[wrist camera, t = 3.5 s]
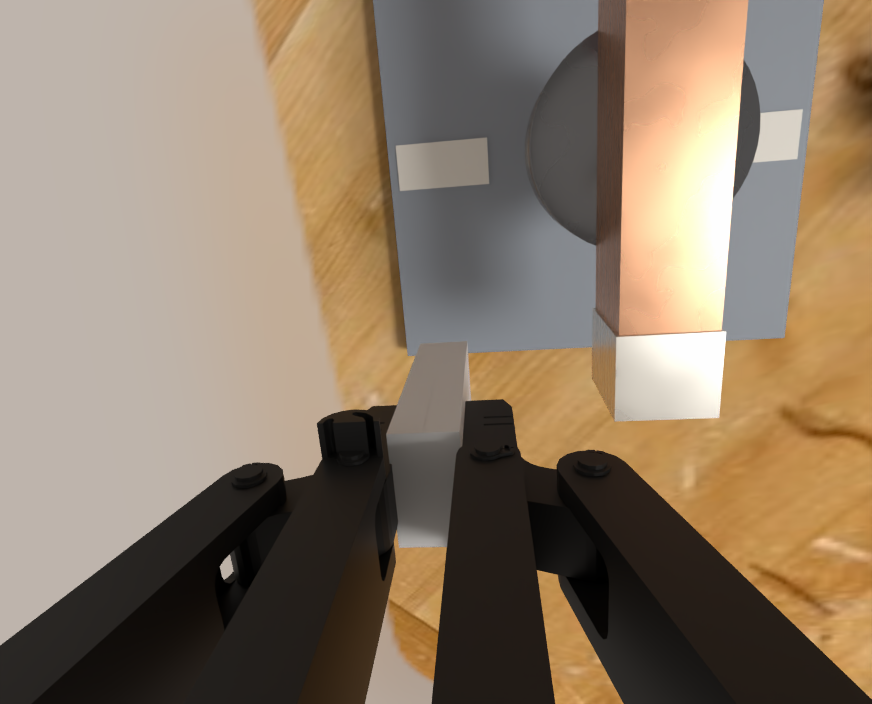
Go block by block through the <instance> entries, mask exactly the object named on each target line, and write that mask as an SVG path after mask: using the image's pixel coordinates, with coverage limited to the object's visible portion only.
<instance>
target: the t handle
mask: <svg viewBox="0 0 872 704" xmlns="http://www.w3.org/2000/svg"><path fill="white" fill-rule="evenodd" d="M747 11H748V0H598V31H596V32H595V33H593V34H592V35H590V36H589V37H587V38H586V39H584V40H583V41H582V42H581V43H580V44H578V45H577V46H576V47H575V48H574V49H573V50H572V51H571V52H570V53H569V54H568V55H567V56H566V57H565V58H564V59H563V60H562V62H561V63H560V64H559V66H558V67H557V68H556V70H555V71H554V72H553V74H552V75H551V77H550V78H549V80H548V81H547V83H546V85H545V86H544V88H543V89H542V91H541V93H540V95H539V96H538V98H537V100H536V102H535V105H534V107H533V110H532V112H531V115H530V118H529V122H528V125H527V131H526V137H525V163H526V169H527V174H528V178H529V181H530V184H531V187H532V189H533V192H534V194H535V196H536V197H537V199H538V201H539V203H540V204H541V206H542V207H543V208H544V210H545V211H546V212H547V213H548V214H549V215H550V217H551V218H552V219H553V220H554V221H556V222H557V223H558V224H559V225H561V226H562V227H563V228H565V229H566V230H568V231H569V232H571V233H572V234H574V235H575V236H577V237H579V238H580V239H582V240H584V241H586V242H588V243H590V244H593V245H595V246H596V308H592V379H593V381H594V383H595V385H596V387H597V389H598V391H599V393H600V395H601V396H602V398H603V400H604V402H605V404H606V406H607V408H608V410H609V412H610V414H611V415H612V417H613V419H614V421H641V420H670V419H700V418H719V412H720V400H721V388H722V376H723V364H724V352H725V340H726V331H725V330H723V329H722V320H723V308H724V295H725V283H726V271H727V258H728V246H729V234H730V221H731V209H732V199H733V198H734V197H735V195H736V194H737V193H738V191H739V190H740V188H741V186H742V184H743V182H744V181H745V179H746V177H747V175H748V173H749V170H750V168H751V166H752V163H753V160H754V157H755V153H756V150H757V146H758V140H759V134H760V116H761V113H760V104H759V97H758V93H757V88H756V84H755V81H754V79H753V76H752V74H751V72H750V69H749V67H748V66H747V64H746V62H745V60H744V48H745V36H746V23H747Z"/></svg>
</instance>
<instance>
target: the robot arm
mask: <svg viewBox="0 0 872 704" xmlns="http://www.w3.org/2000/svg"><path fill="white" fill-rule="evenodd" d="M317 427H318V434H319V440H320V447H321V453H322V460H321V462H320V464H319V466H318V468H317V469H316V471H315V473H314V475H310V476H306V477H303V478H297V479H292V480H288V481H285V480H284V475H283V470H282V469H281V468H280V467H279V466H278V465H275V464H270V463H252V464H246V465H243V466H242V467H240V468H237V469H234V470H232V471H231V472H229V473H227V474H225V475H224V476H222V477H221V478H219V479H218V480H217V481H216V482H214V483H213V484H212V485H210V486H209V487H208V488H206V489H205V490H204V491H202V492H201V493H200V494H199V495H197V496H196V497H195V498H193V499H192V500H191V501H189V502H188V503H187V504H186V505H184V506H183V507H182V508H180V509H179V510H178V511H176V512H175V513H174V514H172V515H171V516H170V517H168V518H167V519H166V520H164V521H163V522H162V523H160V524H159V525H158V526H157V527H155V528H154V529H153V530H151V531H150V532H149V533H147V534H146V535H145V536H143V537H142V538H141V539H139V540H138V541H137V542H136V543H134V544H133V545H132V546H130V547H129V548H128V549H127V550H125V551H124V552H122V553H121V554H120V555H119V556H117V557H116V558H115V559H113V560H112V561H111V562H109V563H108V564H107V565H105V566H104V567H103V568H101V569H100V570H99V571H97V572H96V573H95V574H94V575H92V576H91V577H90V578H88V579H87V580H86V581H84V582H83V583H82V584H80V585H79V586H78V587H77V588H75V589H74V590H73V591H71V592H70V593H69V594H67V595H66V596H65V597H63V598H62V599H61V600H60V601H58V602H57V603H55V604H54V605H53V606H52V607H50V608H49V609H48V610H46V611H45V612H44V613H42V614H41V615H40V616H39V617H37V618H36V619H34V620H33V621H32V622H31V623H29V624H28V625H27V626H25V627H24V628H23V629H21V630H20V631H19V632H17V633H16V634H15V635H14V636H12V637H11V638H10V639H8V640H7V641H6V642H4V643H3V644H2V645H0V704H365V700H366V695H367V691H368V686H369V681H370V677H371V673H372V668H373V664H374V659H375V655H376V650H377V646H378V641H379V636H380V632H381V627H382V623H383V618H384V614H385V609H386V605H387V600H388V596H389V591H390V587H391V582H392V577H393V573H394V568H395V564H396V559H395V549H394V538H395V534H396V530H397V533H398V542H399V548H404V547H447V552H446V563H445V573H444V583H443V593H442V603H441V614H440V624H439V634H438V644H437V654H436V665H435V675H434V685H433V695H432V704H555V699H554V692H553V685H552V678H551V670H550V663H549V656H548V649H547V641H546V634H545V627H544V620H543V613H542V605H541V598H540V591H539V584H538V576H537V570H539V571H544V572H548V573H553V574H557V575H558V579H559V583H560V587H561V589H562V591H563V593H564V595H565V597H566V598H567V600H568V602H569V604H570V606H571V608H572V609H573V611H574V613H575V615H576V617H577V619H578V621H579V622H580V624H581V626H582V628H583V630H584V632H585V633H586V635H587V637H588V639H589V641H590V643H591V644H592V646H593V648H594V650H595V652H596V654H597V655H598V657H599V659H600V661H601V663H602V665H603V666H604V668H605V670H606V672H607V674H608V676H609V677H610V679H611V681H612V683H613V685H614V687H615V688H616V690H617V692H618V694H619V696H620V698H621V699H622V701H623V703H624V704H872V699H871V698H870V697H869V696H868V695H866V694H865V693H864V692H863V691H862V690H861V689H860V688H859V687H858V686H857V685H856V684H855V683H854V682H853V681H852V680H851V679H850V678H849V677H848V676H847V675H846V674H845V673H844V672H843V671H842V670H841V669H839V668H838V667H837V666H836V665H835V664H834V663H833V662H832V661H831V660H830V659H829V658H828V657H827V656H826V655H825V654H824V653H823V652H822V651H821V650H820V649H819V648H818V647H817V646H816V645H815V644H814V643H812V642H811V641H810V640H809V639H808V638H807V637H806V636H805V635H804V634H803V633H802V632H801V631H800V630H799V629H798V628H797V627H796V626H795V625H794V624H793V623H792V622H791V621H790V620H789V619H788V618H787V617H786V616H784V615H783V614H782V613H781V612H780V611H779V610H778V609H777V608H776V607H775V606H774V605H773V604H772V603H771V602H770V601H769V600H768V599H767V598H766V597H765V596H764V595H763V594H762V593H761V592H760V591H759V590H757V589H756V588H755V587H754V586H753V585H752V584H751V583H750V582H749V581H748V580H747V579H746V578H745V577H744V576H743V575H742V574H741V573H740V572H739V571H738V570H737V569H736V568H735V567H734V566H733V565H732V564H730V563H729V562H728V561H727V560H726V559H725V558H724V557H723V556H722V555H721V554H720V553H719V552H718V551H717V550H716V549H715V548H714V547H713V546H712V545H711V544H710V543H709V542H708V541H707V540H706V539H705V538H703V537H702V536H701V535H700V534H699V533H698V532H697V531H696V530H695V529H694V528H693V527H692V526H691V525H690V524H689V523H688V522H687V521H686V520H685V519H684V518H683V517H682V516H681V515H680V514H679V513H678V512H676V511H675V510H674V509H673V508H672V507H671V506H670V505H669V504H668V503H667V502H666V501H665V500H664V499H663V498H662V497H661V496H660V495H659V494H658V493H657V492H656V491H655V490H654V489H653V488H652V487H651V486H649V485H648V484H647V483H646V482H645V481H644V480H643V479H642V478H641V477H640V476H639V475H638V474H637V473H636V472H635V471H634V470H633V469H632V468H631V467H630V466H629V465H628V464H627V463H626V462H624V461H623V460H621V459H620V458H618V457H617V456H614V455H611V454H608V453H605V452H603V451H598V450H597V451H595V450H586V451H577V452H573V453H570V454H567V455H565V456H564V457H562V458H560V459H559V461H558V464H557V470H556V469H549V468H544V467H539V466H536V465H533V464H531V463H529V462H527V461H525V460H524V459H523V458H522V457H521V454H520V451H519V449H518V447H517V441H516V434H515V426H514V419H513V412H512V407H511V406H510V405H509V404H508V403H507V402H505V401H504V400H503V399H502V400H478V401H471V393H470V377H469V361H468V345H467V341H461V342H442V343H423V344H420V346H419V348H418V351H417V354H416V356H415V359H414V362H413V364H412V367H411V370H410V372H409V375H408V378H407V380H406V383H405V386H404V388H403V391H402V394H401V396H400V399H399V401H398V404H397V405H393V406H372V407H371V408H370V409H368V410H347V411H341V412H338V413H334V414H331V415H329V416H327V417H324V418H323V419H321V420H320V421H319V422H318V423H317ZM229 554H230V556H231V561H232V565H233V570H234V572H233V573H232V574H231V575H230V576H229V577H228V578H226V579H225V580H224V579H223V578H222V575H221V570H220V565H221V564H222V562H223V561H224V559H225V558H226V557H227V556H228V555H229Z"/></svg>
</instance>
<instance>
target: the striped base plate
mask: <svg viewBox="0 0 872 704" xmlns="http://www.w3.org/2000/svg"><path fill="white" fill-rule="evenodd" d="M823 3H824V0H748V11H747V23H746V36H745V48H744V60H745V62H746V64H747V66H748V67H749V69H750V72H751V74H752V76H753V79H754V81H755V84H756V88H757V93H758V97H759V104H760V113H761V116H760V134H759V140H758V146H757V150H756V153H755V157H754V160H753V163H752V166H751V168H750V170H749V173H748V175H747V177H746V179H745V181H744V182H743V184H742V186H741V188H740V190H739V191H738V193H737V194H736V195H735V197H734V198H733V199H732V209H731V221H730V234H729V246H728V258H727V271H726V283H725V295H724V308H723V320H722V329H723V330H725V331H726V340H725V341H729V340H750V339H770V338H784V337H785V328H786V320H787V311H788V303H789V294H790V286H791V277H792V268H793V260H794V251H795V243H796V234H797V226H798V217H799V209H800V200H801V191H802V183H803V174H804V166H805V157H806V149H807V140H808V131H809V123H810V114H811V106H812V97H813V89H814V80H815V72H816V63H817V54H818V46H819V37H820V29H821V20H822V12H823ZM373 6H374V17H375V27H376V37H377V47H378V57H379V67H380V78H381V88H382V98H383V108H384V118H385V128H386V139H387V149H388V159H389V169H390V179H391V189H392V200H393V210H394V220H395V230H396V240H397V250H398V261H399V271H400V281H401V291H402V301H403V311H404V322H405V332H406V342H407V352H408V356H416V354H417V351H418V348H419V346H420V344H423V343H442V342H461V341H467V345H468V353H479V352H500V351H521V350H541V349H562V348H583V347H592V308H596V246H595V245H593V244H590V243H588V242H586V241H584V240H582V239H580V238H579V237H577V236H575V235H574V234H572V233H571V232H569V231H568V230H566V229H565V228H563V227H562V226H561V225H559V224H558V223H557V222H556V221H554V220H553V219H552V218H551V217H550V215H549V214H548V213H547V212H546V211H545V210H544V208H543V207H542V206H541V204H540V203H539V201H538V199H537V197H536V196H535V194H534V192H533V189H532V187H531V184H530V181H529V178H528V174H527V169H526V163H525V137H526V131H527V125H528V122H529V118H530V115H531V112H532V110H533V107H534V105H535V102H536V100H537V98H538V96H539V95H540V93H541V91H542V89H543V88H544V86H545V85H546V83H547V81H548V80H549V78H550V77H551V75H552V74H553V72H554V71H555V70H556V68H557V67H558V66H559V64H560V63H561V62H562V60H563V59H564V58H565V57H566V56H567V55H568V54H569V53H570V52H571V51H572V50H573V49H574V48H575V47H576V46H577V45H578V44H580V43H581V42H582V41H583V40H584V39H586V38H587V37H589V36H590V35H592V34H593V33H595V32H596V31H598V0H373Z"/></svg>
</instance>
